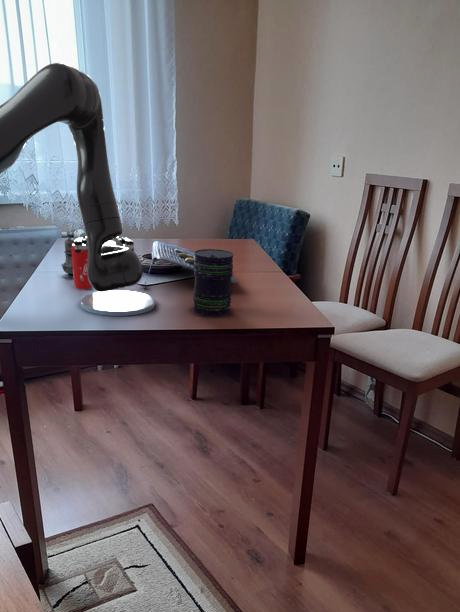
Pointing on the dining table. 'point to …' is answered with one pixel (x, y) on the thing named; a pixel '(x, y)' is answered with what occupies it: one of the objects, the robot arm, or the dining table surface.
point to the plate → (117, 303)
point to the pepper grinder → (68, 259)
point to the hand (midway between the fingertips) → (101, 238)
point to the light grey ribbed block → (175, 256)
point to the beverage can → (80, 269)
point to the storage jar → (212, 282)
